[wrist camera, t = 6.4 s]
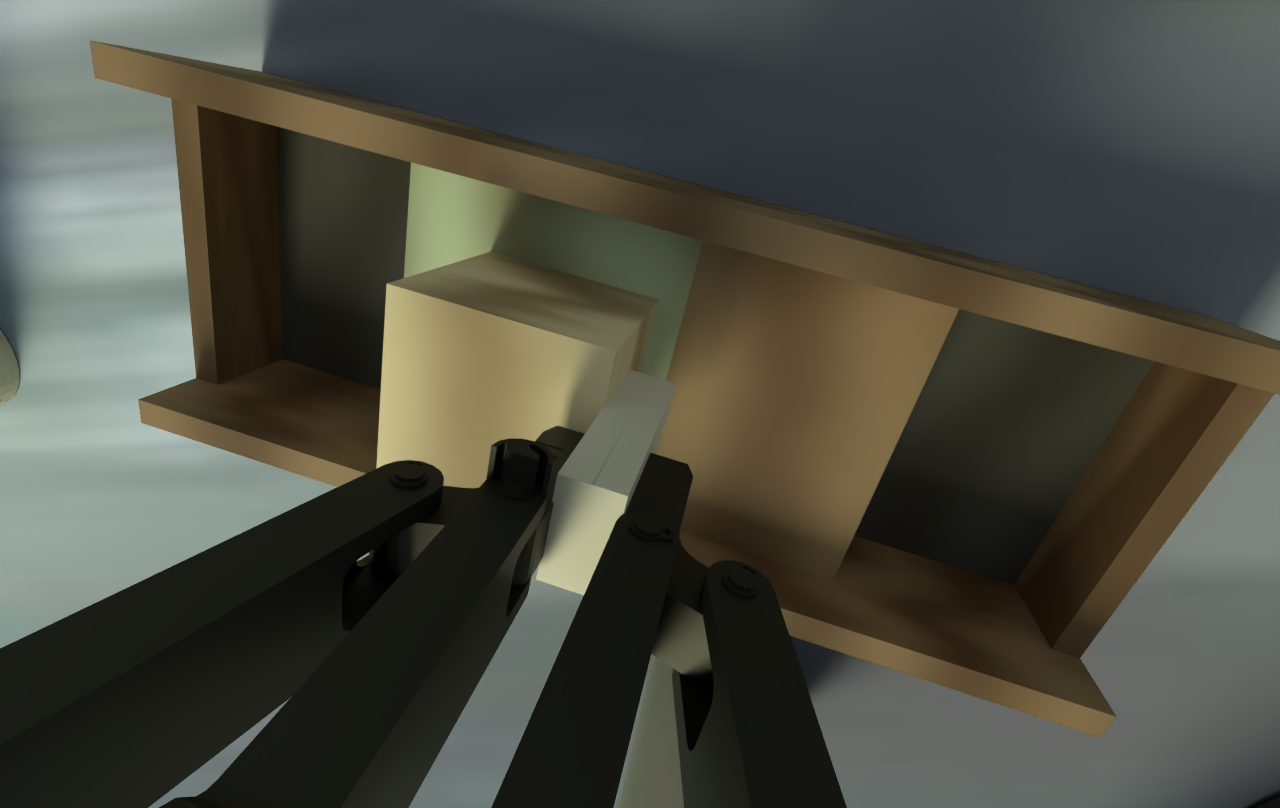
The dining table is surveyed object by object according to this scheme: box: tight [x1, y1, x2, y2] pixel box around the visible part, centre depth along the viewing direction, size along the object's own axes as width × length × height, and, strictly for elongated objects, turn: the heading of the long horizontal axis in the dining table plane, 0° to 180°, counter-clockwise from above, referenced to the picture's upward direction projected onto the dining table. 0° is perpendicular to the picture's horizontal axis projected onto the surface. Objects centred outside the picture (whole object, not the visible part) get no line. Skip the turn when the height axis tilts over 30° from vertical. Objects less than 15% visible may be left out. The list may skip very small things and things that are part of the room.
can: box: [618, 657, 684, 808], centre depth 25 cm, size 8×8×12 cm
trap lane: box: [90, 41, 1280, 737], centre depth 21 cm, size 36×13×6 cm, turn 77°
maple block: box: [376, 252, 659, 488], centre depth 18 cm, size 6×6×6 cm
